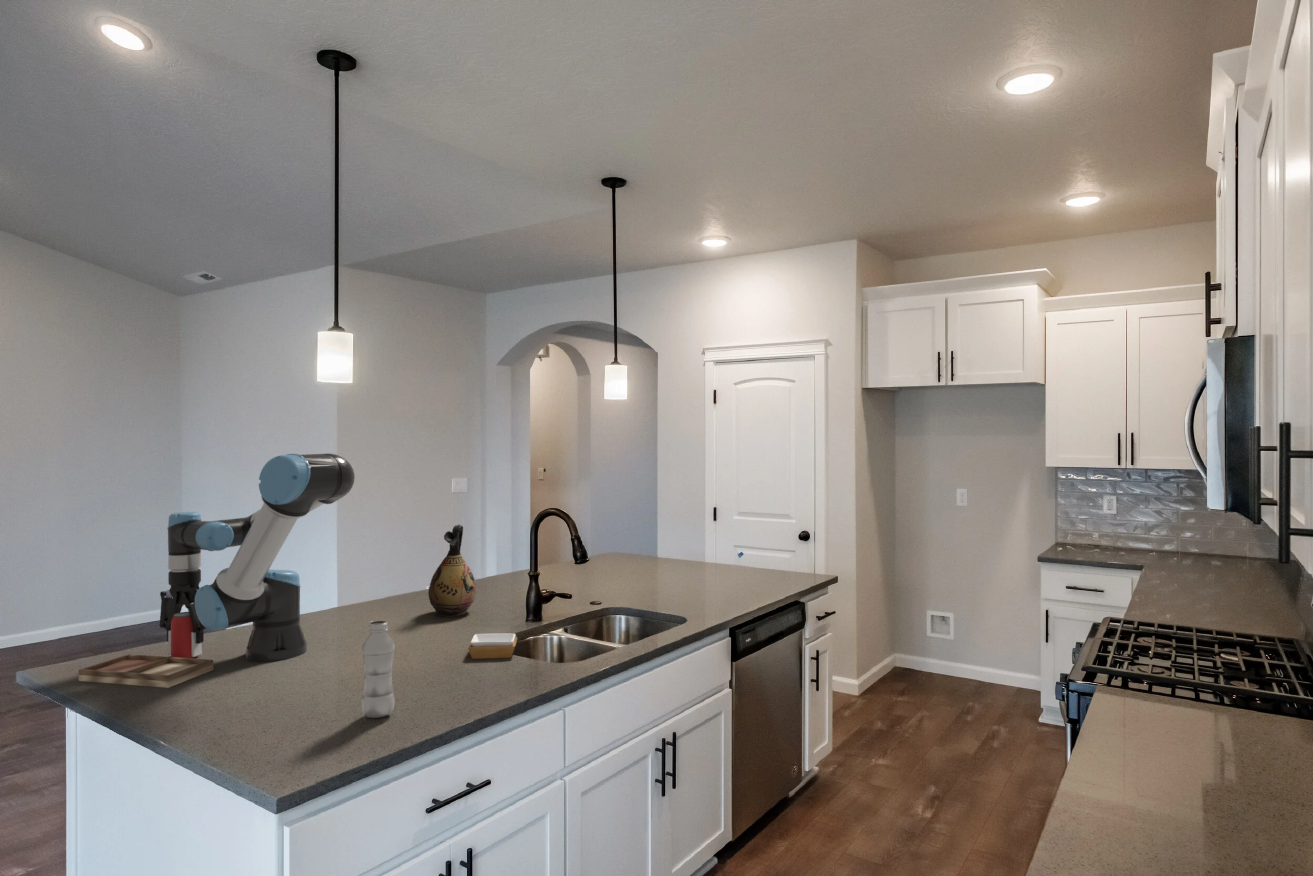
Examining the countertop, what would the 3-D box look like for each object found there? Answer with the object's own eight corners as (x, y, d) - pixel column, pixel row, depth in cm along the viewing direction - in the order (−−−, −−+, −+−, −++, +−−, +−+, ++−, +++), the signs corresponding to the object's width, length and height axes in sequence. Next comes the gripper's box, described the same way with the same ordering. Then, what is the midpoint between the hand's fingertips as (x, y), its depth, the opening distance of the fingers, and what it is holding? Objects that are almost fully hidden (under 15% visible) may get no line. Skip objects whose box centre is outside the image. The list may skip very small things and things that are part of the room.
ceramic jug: (469, 621, 251) (469, 528, 251) (422, 621, 251) (422, 528, 251) (482, 609, 268) (482, 522, 268) (437, 609, 268) (437, 522, 268)
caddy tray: (213, 670, 198) (213, 659, 198) (168, 687, 185) (168, 676, 185) (128, 664, 204) (128, 654, 204) (78, 681, 190) (78, 670, 190)
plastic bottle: (366, 711, 168) (366, 619, 168) (398, 710, 169) (398, 618, 169) (357, 722, 162) (357, 626, 162) (390, 721, 162) (390, 625, 162)
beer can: (185, 662, 206) (185, 617, 205) (164, 661, 207) (164, 616, 207) (205, 655, 212) (204, 611, 212) (184, 654, 213) (184, 610, 213)
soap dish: (467, 661, 206) (467, 642, 206) (472, 651, 216) (472, 633, 216) (515, 660, 207) (515, 641, 207) (517, 650, 217) (517, 632, 217)
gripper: (226, 568, 211) (226, 652, 211) (165, 566, 215) (166, 648, 215) (204, 573, 204) (205, 660, 204) (142, 570, 208) (143, 656, 208)
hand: (185, 654), depth 209 cm, fingers closed on beer can, 7 cm apart
